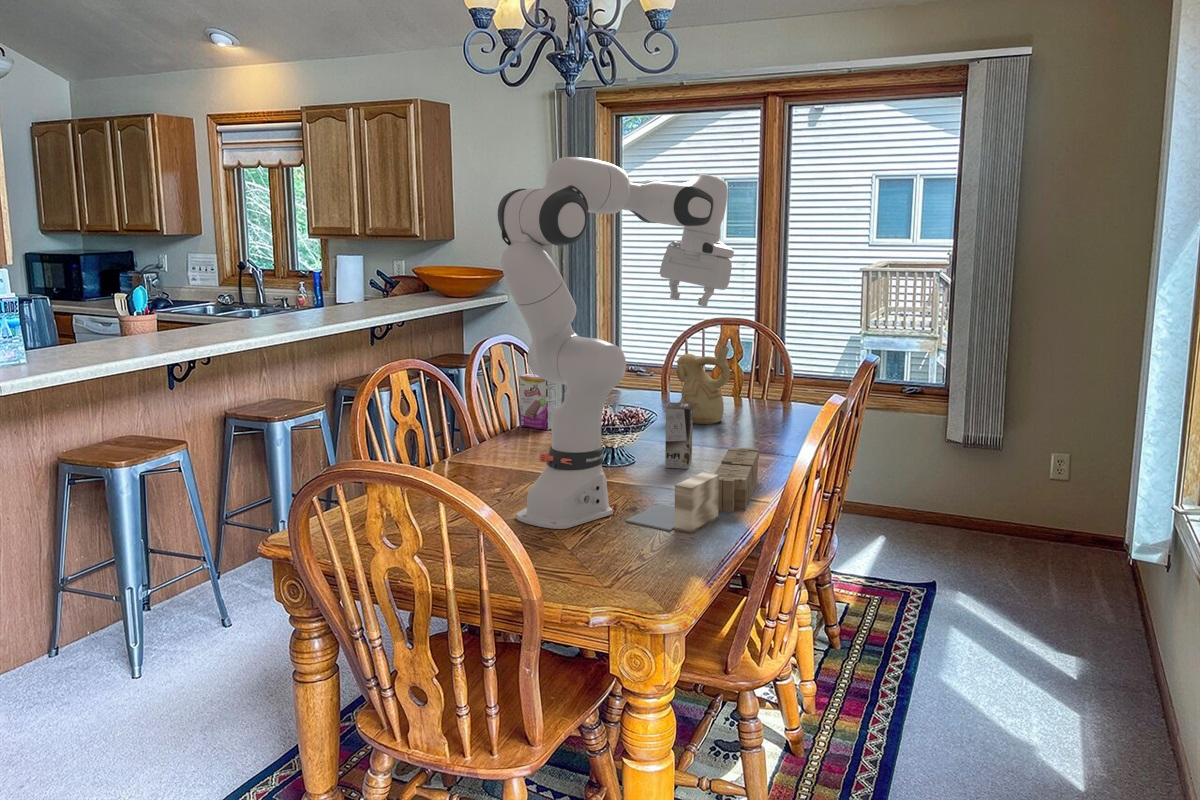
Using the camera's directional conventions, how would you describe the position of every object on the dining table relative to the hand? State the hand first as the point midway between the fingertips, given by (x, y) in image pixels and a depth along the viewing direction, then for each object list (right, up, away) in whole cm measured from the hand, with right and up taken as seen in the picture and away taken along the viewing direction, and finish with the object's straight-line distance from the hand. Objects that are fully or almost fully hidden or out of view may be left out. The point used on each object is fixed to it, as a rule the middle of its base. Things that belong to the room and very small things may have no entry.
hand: (688, 302), depth 222 cm
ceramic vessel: (+12, -30, +77) cm, 83 cm away
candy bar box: (-41, -32, +68) cm, 86 cm away
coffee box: (0, -41, +24) cm, 47 cm away
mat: (-7, -49, -20) cm, 54 cm away
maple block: (-1, -50, -25) cm, 56 cm away
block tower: (+11, -46, -2) cm, 47 cm away
